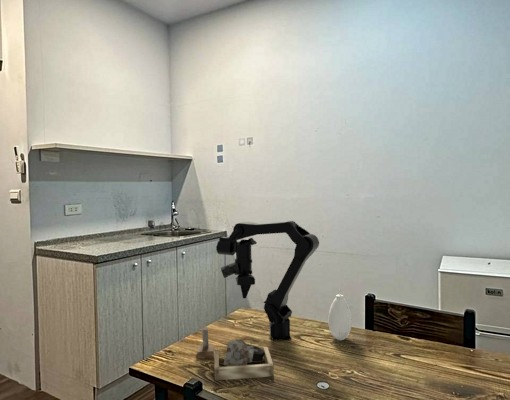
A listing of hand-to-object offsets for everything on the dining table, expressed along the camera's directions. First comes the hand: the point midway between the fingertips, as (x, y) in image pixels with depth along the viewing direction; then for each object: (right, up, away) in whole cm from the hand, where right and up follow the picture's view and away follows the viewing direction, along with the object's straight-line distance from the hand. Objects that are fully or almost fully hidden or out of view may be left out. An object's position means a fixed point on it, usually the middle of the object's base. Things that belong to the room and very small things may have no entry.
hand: (244, 298), depth 134 cm
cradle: (0, -13, -28) cm, 31 cm away
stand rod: (-12, -13, -19) cm, 26 cm away
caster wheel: (+1, -13, -24) cm, 27 cm away
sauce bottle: (+33, -12, -9) cm, 37 cm away
